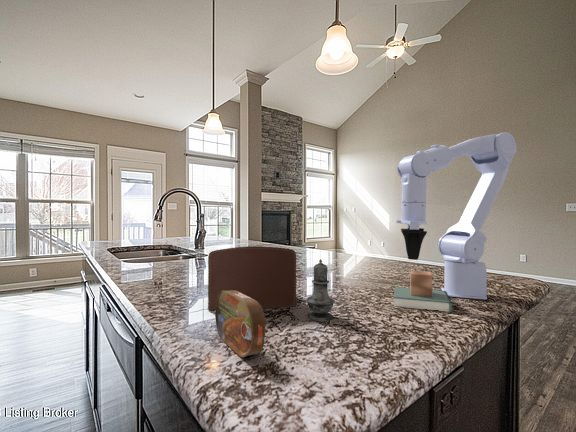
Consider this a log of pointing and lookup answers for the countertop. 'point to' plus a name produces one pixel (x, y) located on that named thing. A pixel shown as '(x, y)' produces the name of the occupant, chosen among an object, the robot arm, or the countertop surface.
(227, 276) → the letter holder
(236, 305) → the tin
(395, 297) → the book
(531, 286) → the countertop surface
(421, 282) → the block
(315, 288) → the salt shaker
